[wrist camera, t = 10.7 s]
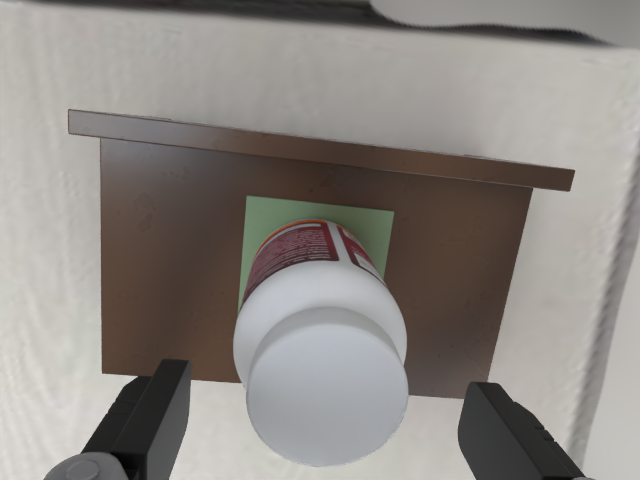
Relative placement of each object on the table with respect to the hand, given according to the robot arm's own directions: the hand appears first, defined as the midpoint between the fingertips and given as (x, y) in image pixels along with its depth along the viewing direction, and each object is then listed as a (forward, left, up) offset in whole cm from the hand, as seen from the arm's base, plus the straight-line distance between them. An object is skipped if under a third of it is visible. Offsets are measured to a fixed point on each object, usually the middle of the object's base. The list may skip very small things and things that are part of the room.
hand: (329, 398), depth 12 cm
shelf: (0, 0, -17) cm, 17 cm away
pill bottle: (0, 0, -11) cm, 11 cm away
